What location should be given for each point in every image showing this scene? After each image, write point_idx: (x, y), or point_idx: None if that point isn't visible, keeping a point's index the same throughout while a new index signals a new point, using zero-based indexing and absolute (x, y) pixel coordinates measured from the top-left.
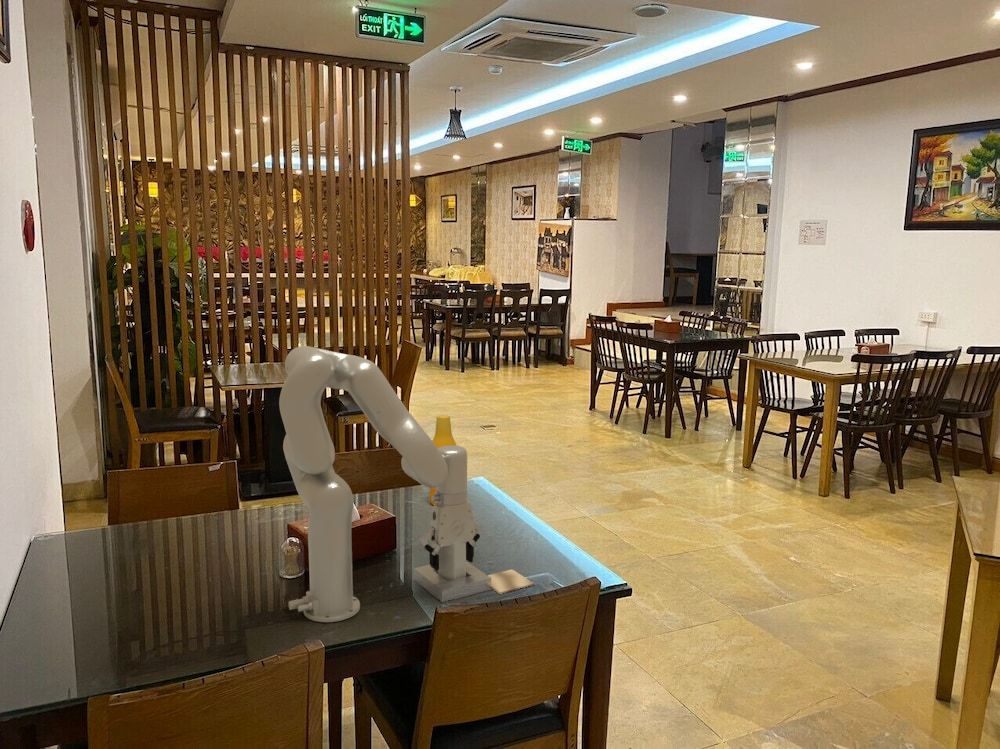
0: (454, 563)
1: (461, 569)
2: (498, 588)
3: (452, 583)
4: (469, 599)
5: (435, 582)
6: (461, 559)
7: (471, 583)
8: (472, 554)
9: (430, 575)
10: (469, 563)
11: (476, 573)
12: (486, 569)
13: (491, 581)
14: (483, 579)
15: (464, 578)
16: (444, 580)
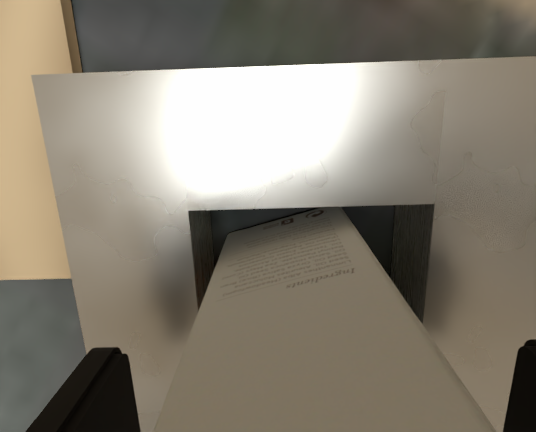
0: (403, 303)
1: (268, 278)
2: (35, 31)
3: (421, 150)
4: (313, 13)
5: (532, 244)
6: (263, 351)
7: (259, 68)
8: (44, 417)
9: (483, 375)
10: None
11: (125, 234)
12: (9, 374)
13: (42, 177)
14: (117, 78)
15: (271, 191)
16: (445, 241)
